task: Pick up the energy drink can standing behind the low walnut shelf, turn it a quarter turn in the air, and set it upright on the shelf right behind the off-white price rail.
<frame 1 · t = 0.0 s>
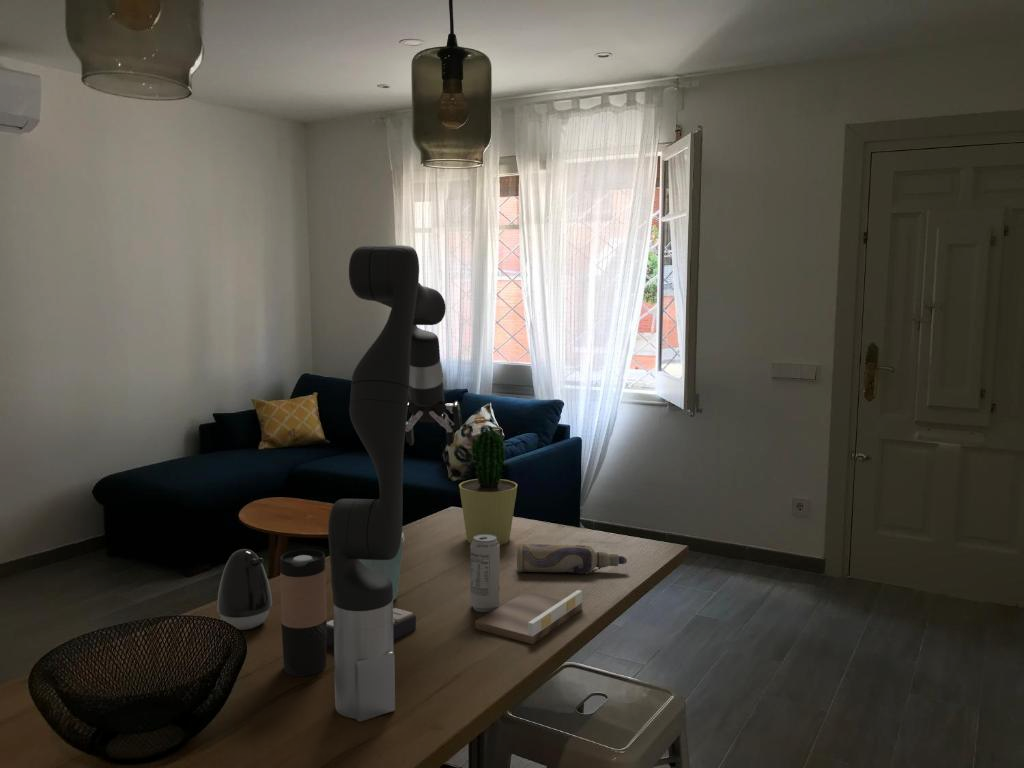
hand: (430, 443, 182), 31 cm above the table, tool tilted 20°, fingers open, 8 cm apart
decorative bottle: (567, 574, 191), on the table
price rail: (556, 612, 160), on the shelf board, point 3 cm above the table
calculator: (369, 638, 156), on the table
disposable coffee cup: (380, 599, 175), on the table
potted cactus: (488, 540, 216), on the table
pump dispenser: (245, 625, 160), on the table
energy drink can: (484, 608, 170), on the table
travel mug: (305, 668, 142), on the table
shelf board: (530, 618, 164), on the table
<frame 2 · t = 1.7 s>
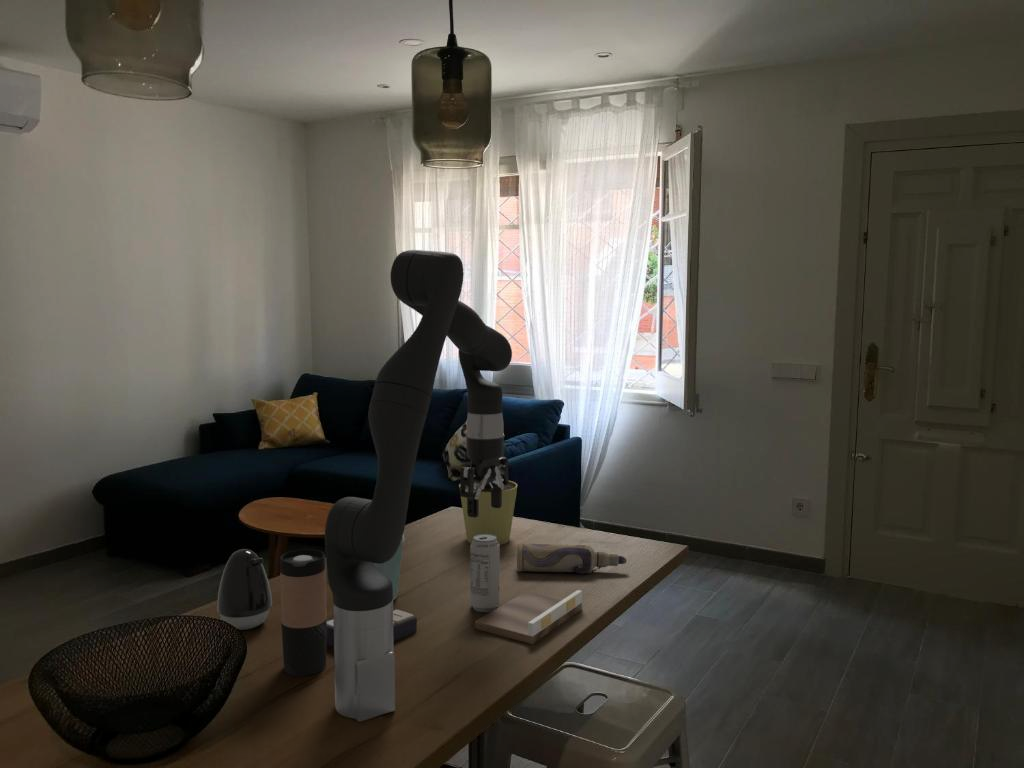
hand: (485, 512, 167), 20 cm above the table, tool pointing down, fingers open, 8 cm apart
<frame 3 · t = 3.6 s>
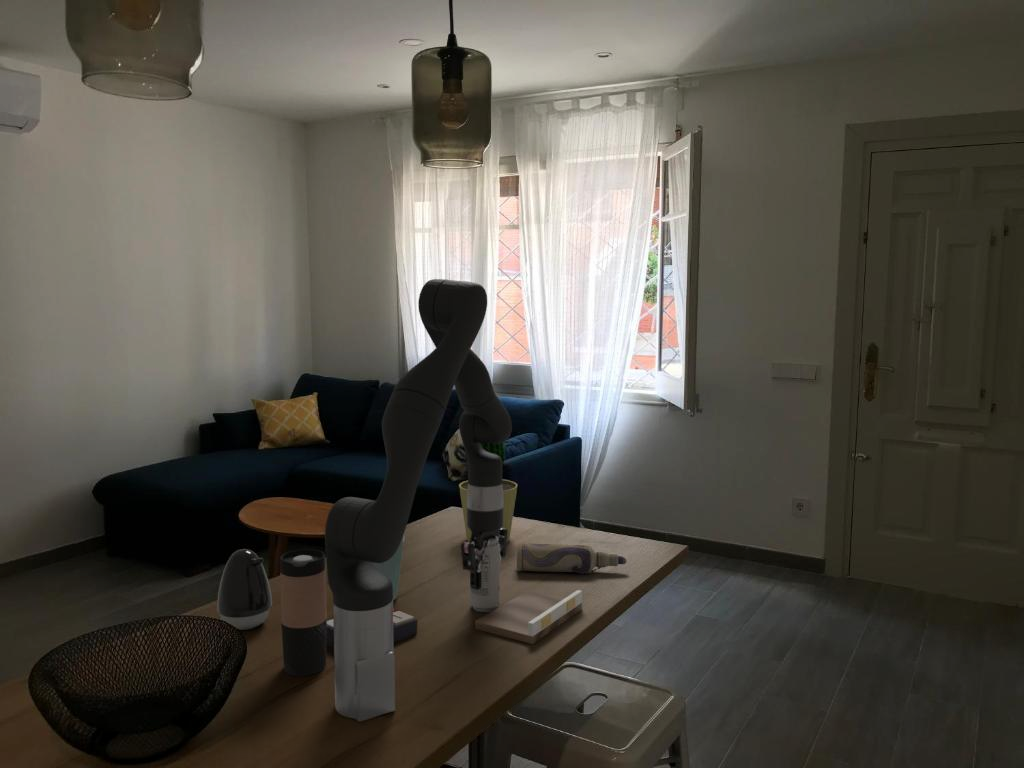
hand: (485, 583, 169), 5 cm above the table, tool pointing down, fingers closed on energy drink can, 6 cm apart
energy drink can: (484, 608, 170), on the table, touching gripper
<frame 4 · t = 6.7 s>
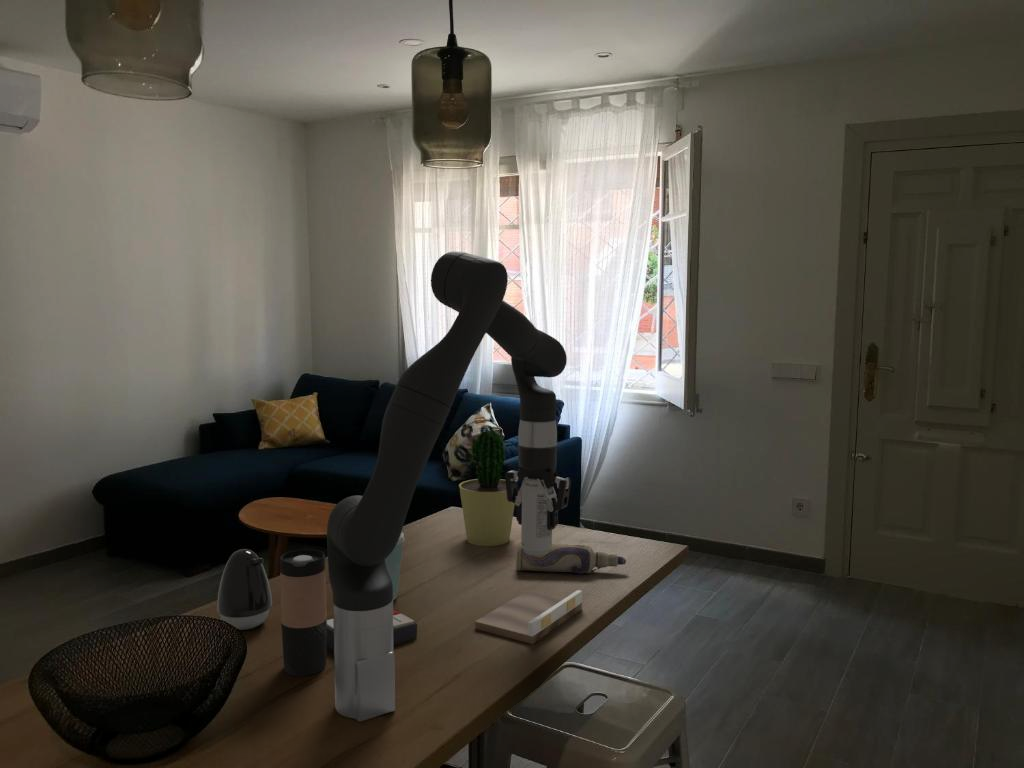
hand: (536, 526, 161), 19 cm above the table, tool pointing down, fingers closed on energy drink can, 6 cm apart
energy drink can: (536, 552, 162), point 14 cm above the table, touching gripper
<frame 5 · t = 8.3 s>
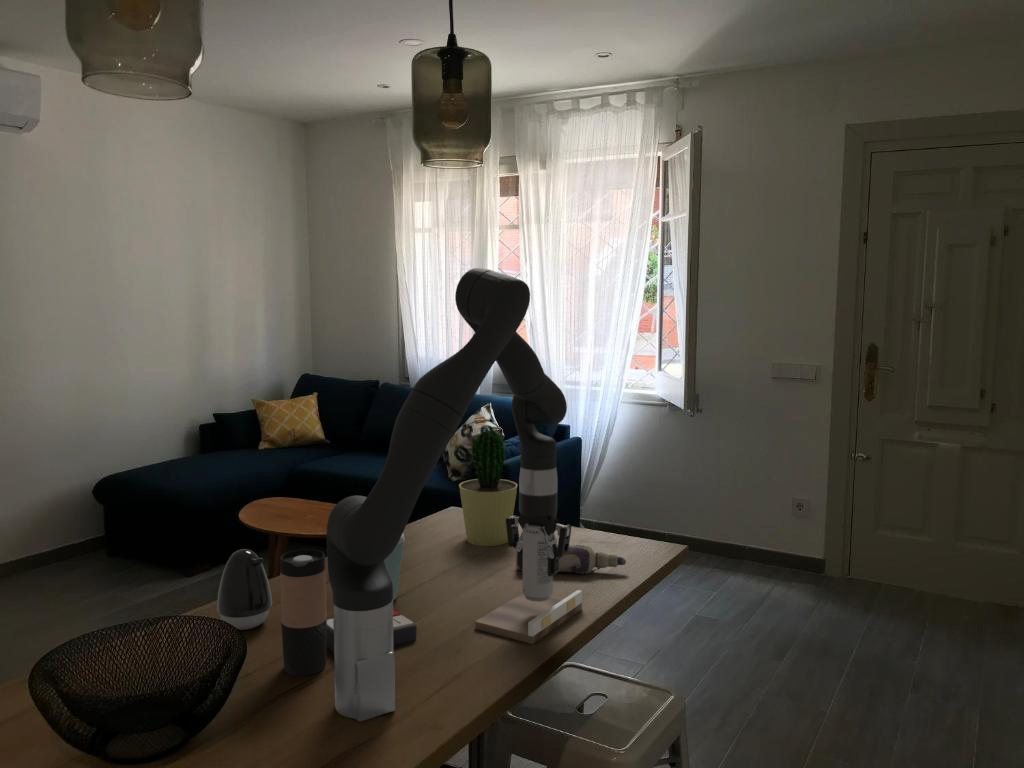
hand: (537, 571, 162), 10 cm above the table, tool pointing down, fingers closed on energy drink can, 6 cm apart
energy drink can: (537, 597, 162), point 5 cm above the table, touching gripper
when the fingers open (7 cm above the table, at t = 9.8 s): energy drink can stays where it is, resting on shelf board.
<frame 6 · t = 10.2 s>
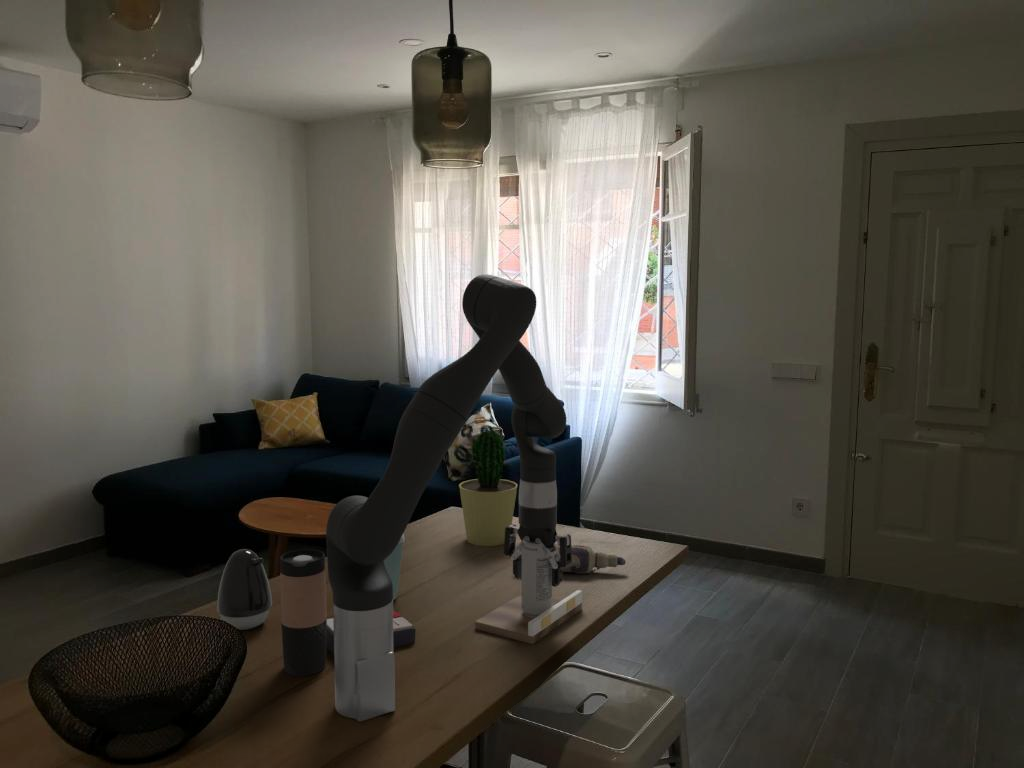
hand: (537, 581, 162), 8 cm above the table, tool pointing down, fingers open, 8 cm apart
energy drink can: (536, 614, 163), point 1 cm above the table, touching shelf board
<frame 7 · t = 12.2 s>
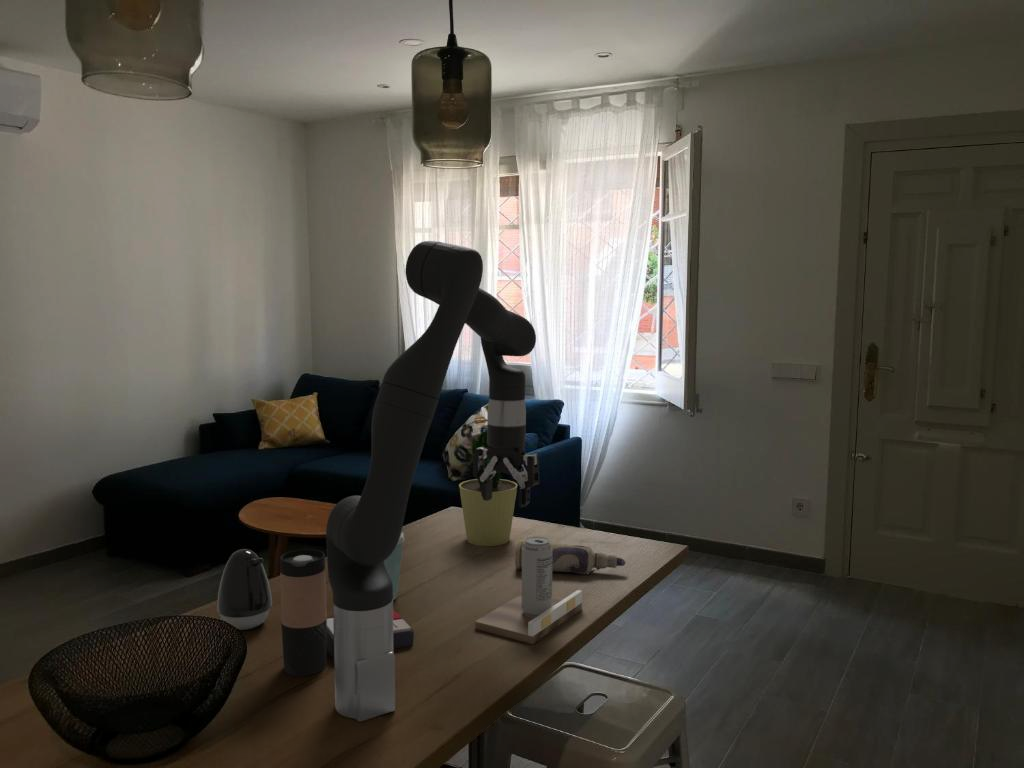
hand: (505, 503, 161), 24 cm above the table, tool pointing down, fingers open, 8 cm apart
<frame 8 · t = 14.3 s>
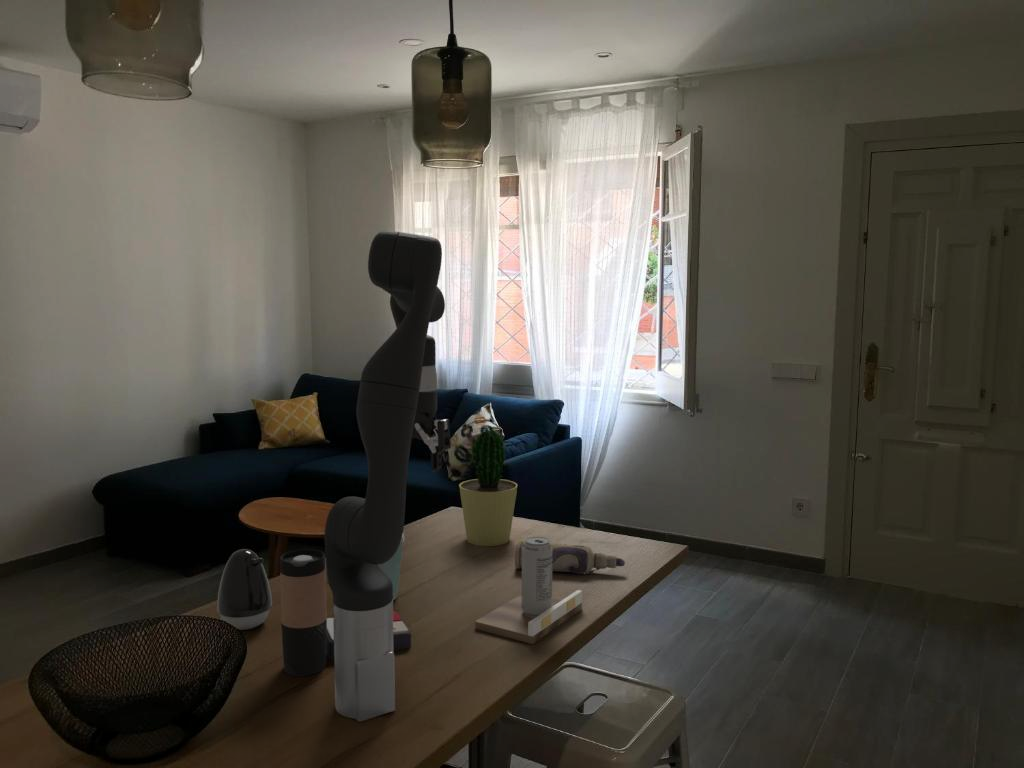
hand: (418, 468, 163), 30 cm above the table, tool pointing down, fingers open, 8 cm apart
at the end: energy drink can inside the target area (0.2 cm from its centre), point 1.3 cm above the table; energy drink can tilted 0°; the gripper is holding nothing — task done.
